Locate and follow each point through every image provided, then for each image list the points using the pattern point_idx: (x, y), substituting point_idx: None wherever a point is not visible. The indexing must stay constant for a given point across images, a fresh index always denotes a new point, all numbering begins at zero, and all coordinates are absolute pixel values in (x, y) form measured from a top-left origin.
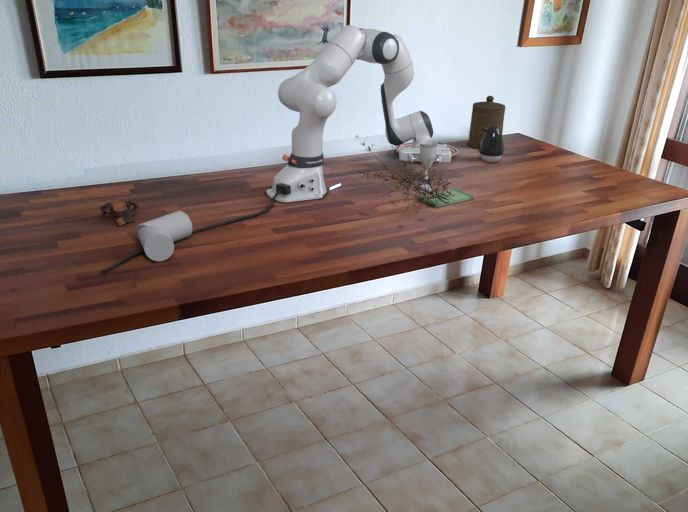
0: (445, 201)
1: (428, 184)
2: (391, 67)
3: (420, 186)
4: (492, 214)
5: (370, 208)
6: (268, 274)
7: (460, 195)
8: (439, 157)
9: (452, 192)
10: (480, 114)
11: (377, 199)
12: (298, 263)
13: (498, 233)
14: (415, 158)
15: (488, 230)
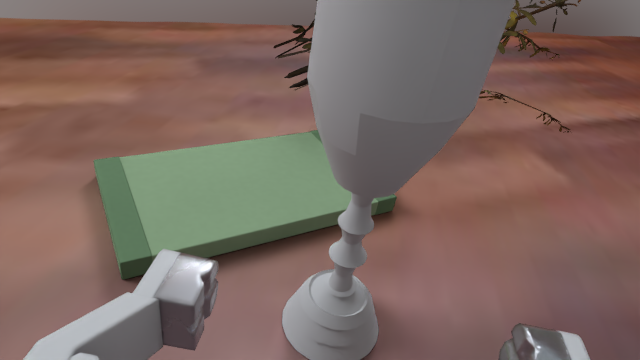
0: (275, 139)
1: (312, 300)
2: None
3: (370, 318)
4: (132, 79)
5: (565, 127)
6: (615, 46)
7: (160, 174)
8: (135, 303)
9: (181, 210)
10: None
11: (550, 58)
12: (592, 51)
13: (202, 30)
14: (519, 323)
15: (218, 40)
